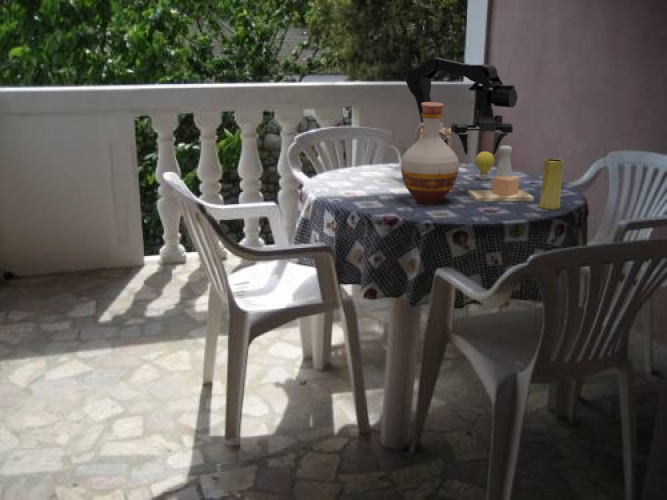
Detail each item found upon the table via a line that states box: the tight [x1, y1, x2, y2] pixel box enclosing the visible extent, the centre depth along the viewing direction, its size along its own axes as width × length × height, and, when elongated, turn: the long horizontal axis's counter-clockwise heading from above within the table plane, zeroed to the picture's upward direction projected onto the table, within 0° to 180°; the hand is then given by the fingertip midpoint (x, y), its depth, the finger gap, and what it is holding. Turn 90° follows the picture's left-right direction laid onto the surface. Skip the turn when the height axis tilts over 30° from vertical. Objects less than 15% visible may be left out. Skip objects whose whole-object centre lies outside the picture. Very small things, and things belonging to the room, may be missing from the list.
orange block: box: [491, 175, 521, 196], centre depth 227 cm, size 6×6×5 cm
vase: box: [538, 158, 564, 210], centre depth 213 cm, size 6×6×14 cm
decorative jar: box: [418, 122, 453, 150], centre depth 269 cm, size 12×12×18 cm
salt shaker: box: [494, 145, 513, 177], centre depth 247 cm, size 6×6×13 cm
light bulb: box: [474, 151, 495, 181], centre depth 254 cm, size 7×7×10 cm
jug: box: [400, 101, 460, 204], centre depth 219 cm, size 20×18×30 cm
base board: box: [467, 189, 534, 203], centre depth 227 cm, size 18×11×4 cm, turn 95°
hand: (480, 154), depth 231 cm, fingers open, 9 cm apart
